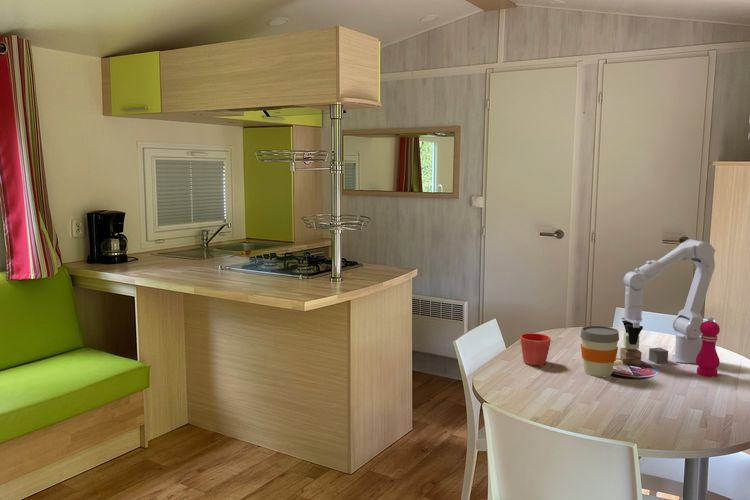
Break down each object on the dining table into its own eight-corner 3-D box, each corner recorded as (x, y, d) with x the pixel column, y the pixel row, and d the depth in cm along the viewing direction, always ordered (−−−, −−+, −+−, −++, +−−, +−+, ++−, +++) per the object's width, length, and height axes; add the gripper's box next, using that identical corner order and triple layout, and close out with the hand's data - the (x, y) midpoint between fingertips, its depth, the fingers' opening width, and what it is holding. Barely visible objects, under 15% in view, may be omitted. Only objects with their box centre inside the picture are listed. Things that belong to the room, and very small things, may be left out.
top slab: (635, 354, 233) (635, 347, 233) (641, 358, 228) (641, 352, 227) (620, 354, 233) (620, 347, 233) (625, 359, 228) (626, 352, 227)
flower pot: (547, 358, 236) (547, 333, 234) (552, 367, 225) (553, 341, 224) (517, 357, 237) (518, 332, 235) (521, 367, 226) (522, 340, 225)
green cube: (636, 345, 232) (636, 333, 231) (638, 348, 227) (639, 336, 227) (623, 344, 233) (623, 332, 232) (625, 348, 228) (625, 335, 228)
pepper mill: (721, 378, 213) (725, 319, 210) (698, 376, 215) (702, 319, 212) (714, 371, 220) (718, 314, 217) (692, 370, 222) (695, 314, 219)
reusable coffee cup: (575, 375, 217) (577, 332, 215) (582, 364, 228) (584, 323, 226) (614, 380, 211) (616, 336, 209) (619, 369, 222) (621, 328, 220)
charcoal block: (659, 359, 234) (660, 347, 234) (667, 363, 230) (668, 350, 229) (648, 360, 233) (649, 348, 233) (656, 363, 229) (657, 351, 228)
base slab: (637, 361, 233) (637, 354, 233) (640, 366, 227) (640, 359, 227) (620, 360, 234) (620, 353, 234) (622, 365, 228) (623, 358, 228)
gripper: (618, 300, 236) (616, 336, 238) (625, 309, 222) (623, 347, 223) (638, 301, 234) (636, 337, 236) (646, 310, 220) (644, 348, 222)
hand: (631, 342), depth 230 cm, fingers closed on green cube, 4 cm apart
